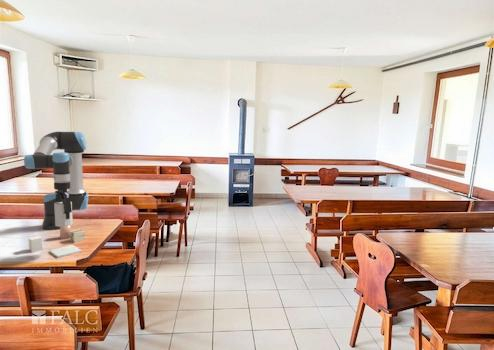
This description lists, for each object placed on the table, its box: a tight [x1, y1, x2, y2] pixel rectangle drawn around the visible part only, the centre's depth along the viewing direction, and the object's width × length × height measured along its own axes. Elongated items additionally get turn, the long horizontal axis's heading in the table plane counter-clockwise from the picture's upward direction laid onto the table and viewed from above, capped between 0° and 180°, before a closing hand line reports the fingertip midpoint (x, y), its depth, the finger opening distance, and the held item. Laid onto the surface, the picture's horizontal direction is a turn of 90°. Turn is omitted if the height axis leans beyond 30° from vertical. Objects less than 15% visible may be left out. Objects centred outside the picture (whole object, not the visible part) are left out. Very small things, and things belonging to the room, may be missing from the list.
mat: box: [48, 244, 83, 259], centre depth 175 cm, size 12×12×1 cm
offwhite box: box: [28, 235, 44, 253], centre depth 176 cm, size 5×5×7 cm
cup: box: [54, 202, 74, 227], centre depth 172 cm, size 8×8×12 cm
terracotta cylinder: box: [59, 225, 72, 240], centre depth 197 cm, size 6×6×8 cm
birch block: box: [69, 228, 86, 244], centre depth 193 cm, size 6×6×6 cm
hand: (64, 222), depth 173 cm, fingers closed on cup, 8 cm apart
